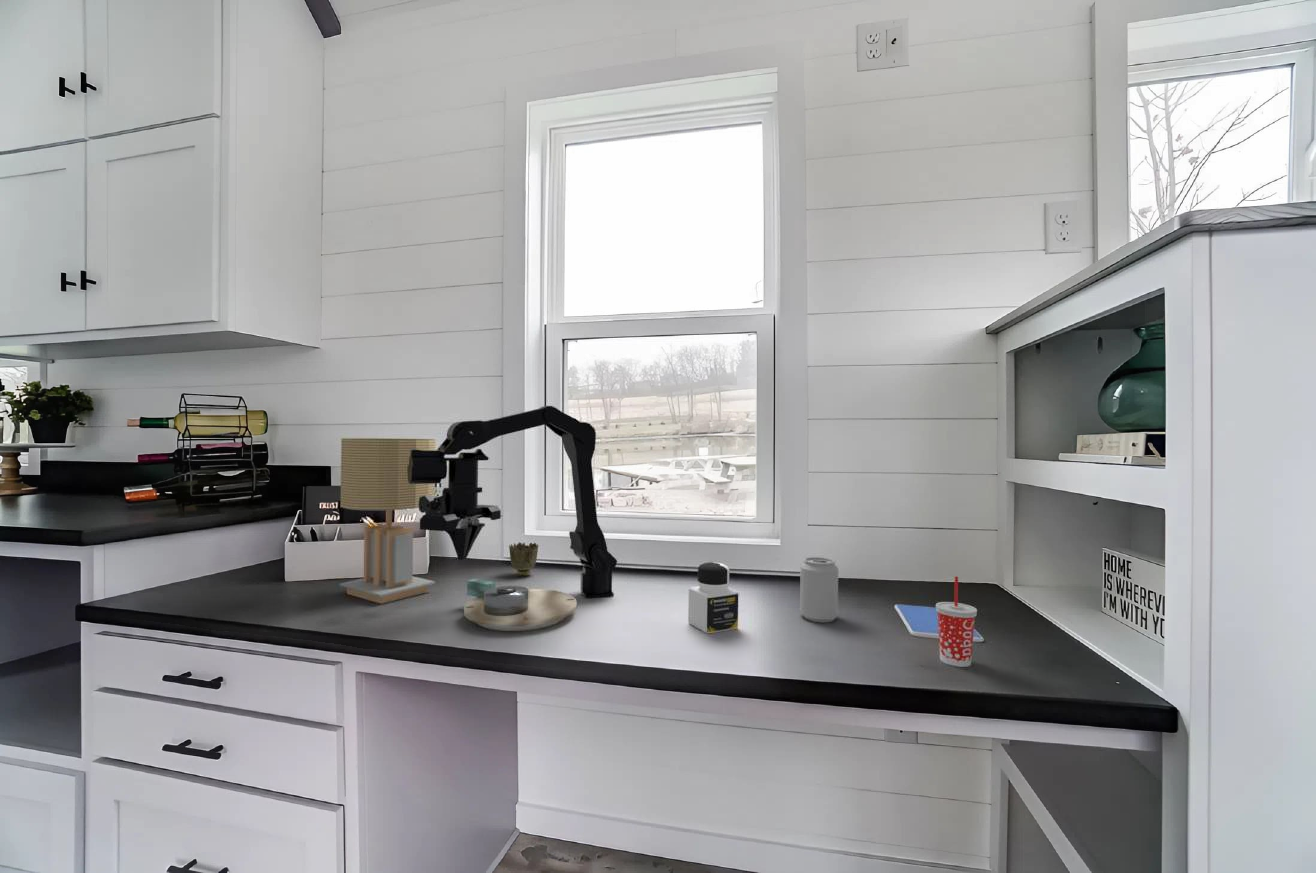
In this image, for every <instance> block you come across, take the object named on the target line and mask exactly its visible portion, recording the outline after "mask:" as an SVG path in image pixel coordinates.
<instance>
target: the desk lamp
mask: <svg viewBox="0 0 1316 873" xmlns="http://www.w3.org/2000/svg"><path fill="white" fill-rule="evenodd" d="M340 444H341V445H340V446H341V447H340V450H341V451H340V453H341V454H340V506H339V507H340V508H342V509H346V510H351V511H385V524H377V525H371V526H365V527H364V532H363V533H364V534H363V536H364V537H363V539H364V540H363V578H360V579H359V578H358V579H354V580H350V581H344V582H341V583H339V586H340V587H343V588H346V594H347V595H351V596H354V597H356V598H360V599H364V600H366V601H371V602H375V603H377V604H385V603H386V604H387V603H390V602H394V601H399V600H401V599H405V598H406V599H407V598H410V597H414V596H417V595H420V594H425V593H428V592H429V586H431V585H435V584H436V581H434V580H430V579H426V578H421V577H419V576H418V577H417V576H413V571H414V570H413V569H414V567H413V565H414V563H413V562H414V556H413V555H414V527H405V528H404V526H403V525H393V511H398V510H399V511H400V510H410V509H411V510H412V509H419V498H420V497H422V496H426V495H431V496H432V497H433V498H436V496H435V494H436V493H435V492H436V490H435V488H436V484H409V482H408V473H407V468H408V465H409V458H410V450H411V449H417V450H436V439H435V438H434V439H433V438H432V439H431V438H379V437H377V438H374V437H373V438H372V437H370V438H367V437H365V438H363V437H362V438H359V437H358V438H357V437H355V438H354V437H351V438H350V437H348V438H345V437H344V438H341V443H340Z"/></svg>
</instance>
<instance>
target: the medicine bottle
mask: <svg viewBox="0 0 1316 873" xmlns="http://www.w3.org/2000/svg"><path fill="white" fill-rule="evenodd" d="M687 606H688V609H687V610H688V614H687V615H688V616H687V617H688V619H687V622H688V624H690V625H691V626H692V627H695V628H696V629H698V630H700V631H701V632H703V633H705V634H707V635H708V634H714V633H715V634H716V633H719V632H720V633H721V632H726V631H732V630H737V629H738V628H739V592H738V591H737V590H734V589H732V588H730V568H729V566H727V565H726V564H724V563H721V562H712V561H711V562H710V561H709V562H704V563H702V564H699V566H698V567H697V586H696V585H695V586H690V587H689V588H688V605H687Z"/></svg>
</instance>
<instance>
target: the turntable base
mask: <svg viewBox="0 0 1316 873" xmlns="http://www.w3.org/2000/svg"><path fill="white" fill-rule="evenodd" d="M564 619H565V618H562V619H559V620H556V621H552V622H548V623H543V624H537V625H529V626H492V625H485V624H480V623H476V624H477V625H478V626H480V627H482V628H485V629H489V630H494V631H503V632H504V631H505V632H522V631H523V632H524V631H531V630H539V629H543V628H548V627H550V626H553V625H556V624H558V623H561V622H562V621H563V620H564Z"/></svg>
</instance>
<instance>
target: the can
mask: <svg viewBox="0 0 1316 873" xmlns="http://www.w3.org/2000/svg"><path fill="white" fill-rule="evenodd" d="M835 563H836V560H834V559H833V558H828V557H822V556H808V557H805V558H803V563H802V564H801V565H800V575H799V576H800V577H799V578H800V582H799V583H800V584H799V585H800V586H799V587H800V588H799V591H800V592H799V595H800V596H799V613H800V614H801V616H802V617H803V618H804V619H805V620H808V621H811V622H816V623H830V622H833V621H834V620H835V619H836V618H837V617H839V616H838V615H839V613H838V612H839V568H838V566H837V565H836V564H835Z"/></svg>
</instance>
